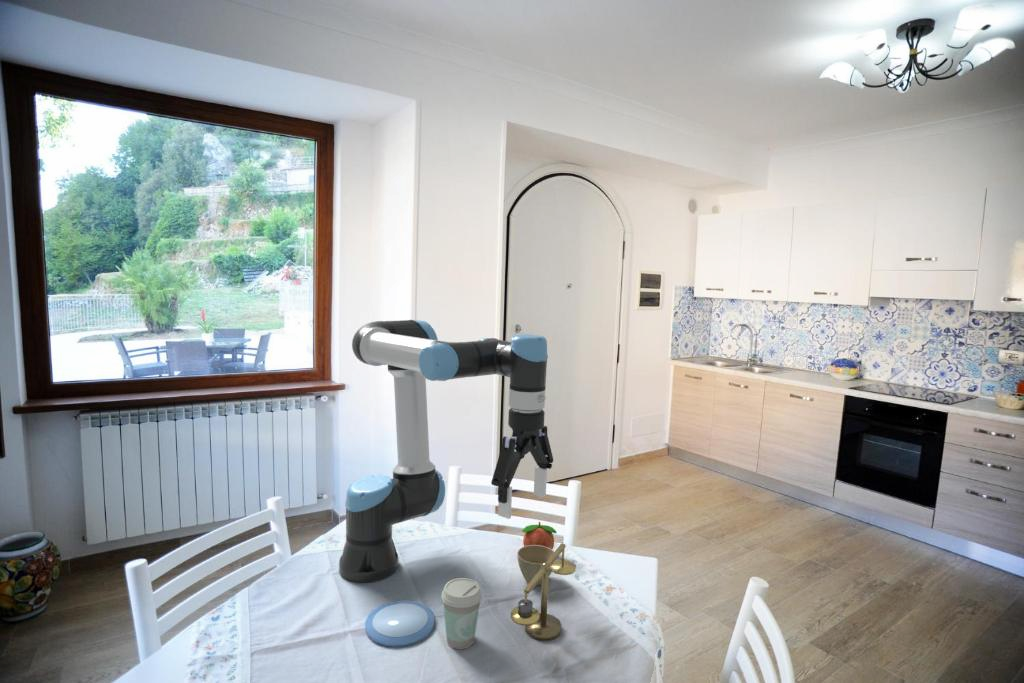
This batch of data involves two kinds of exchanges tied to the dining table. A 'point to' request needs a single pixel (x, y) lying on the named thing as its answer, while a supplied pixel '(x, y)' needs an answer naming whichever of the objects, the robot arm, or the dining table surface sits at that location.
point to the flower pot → (533, 560)
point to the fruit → (539, 535)
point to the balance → (542, 600)
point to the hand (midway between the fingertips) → (522, 506)
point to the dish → (399, 623)
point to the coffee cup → (461, 611)
